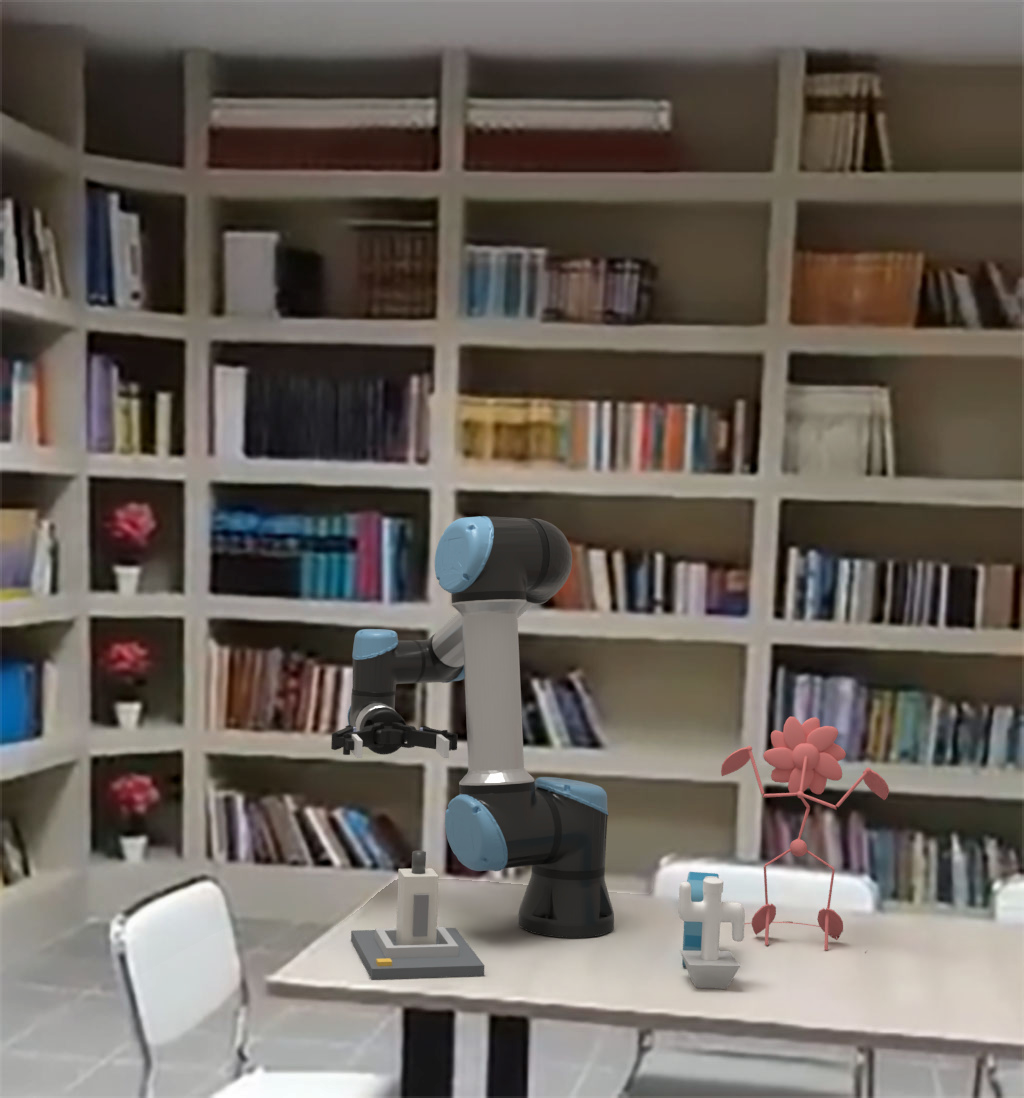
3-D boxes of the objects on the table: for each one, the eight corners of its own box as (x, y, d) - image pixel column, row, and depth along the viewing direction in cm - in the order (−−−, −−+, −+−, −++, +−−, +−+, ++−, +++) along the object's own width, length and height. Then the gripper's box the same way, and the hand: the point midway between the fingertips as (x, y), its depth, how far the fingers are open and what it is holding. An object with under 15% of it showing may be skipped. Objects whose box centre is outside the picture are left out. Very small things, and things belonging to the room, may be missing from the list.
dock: (455, 937, 253) (455, 918, 253) (484, 975, 233) (484, 954, 233) (351, 940, 249) (351, 920, 249) (371, 979, 230) (372, 958, 229)
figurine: (746, 991, 231) (751, 885, 230) (680, 990, 230) (684, 883, 230) (735, 976, 238) (740, 873, 238) (671, 975, 237) (675, 871, 237)
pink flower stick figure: (883, 957, 251) (894, 728, 250) (712, 943, 255) (722, 717, 254) (877, 931, 266) (887, 715, 265) (716, 918, 271) (725, 705, 269)
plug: (429, 942, 244) (432, 848, 244) (436, 953, 239) (440, 856, 238) (395, 943, 243) (399, 848, 243) (402, 954, 237) (406, 857, 237)
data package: (713, 971, 240) (716, 889, 240) (681, 969, 241) (685, 887, 240) (715, 949, 252) (718, 871, 252) (685, 947, 253) (689, 869, 252)
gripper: (453, 751, 279) (481, 773, 259) (305, 751, 273) (322, 773, 253) (455, 707, 279) (483, 725, 258) (307, 706, 273) (323, 724, 252)
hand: (403, 749), depth 255 cm, fingers open, 13 cm apart
